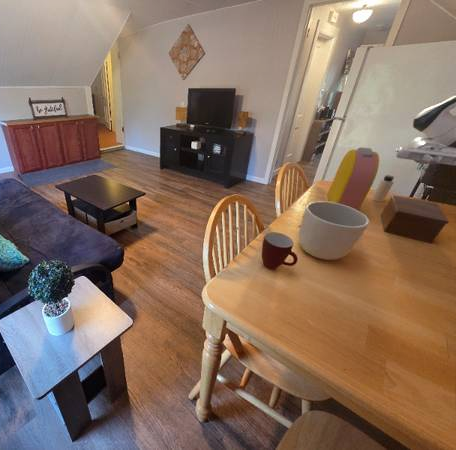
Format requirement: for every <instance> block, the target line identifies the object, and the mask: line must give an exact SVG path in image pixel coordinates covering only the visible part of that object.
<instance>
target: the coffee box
mask: <svg viewBox="0 0 456 450" xmlns="http://www.w3.org/2000/svg"><path fill="white" fill-rule="evenodd" d="M380 219H381V224H382V228H383V232H384V233H387V234H391V235H395V236H399V237H403V238H409V239H411V240H416V241H420V242H423V243H428V244H432V243H433V242H434V240H435V239H436V238H437V237H438V235H439V234H440V233H441V231H442V230H443V229H444V227H445V226H446V224H445V223H441V222H436V221H431V220H427V219H422V218H417V217H413V216H408V215H404V214H399V213H396V210H395V207H394V204H393V201H392V198H391V197H390V198H389V200H388V202H387V204H386V206H385V207H384V209H383V211H382V212H381V214H380Z"/></svg>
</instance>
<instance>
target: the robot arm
mask: <svg viewBox="0 0 456 450" xmlns="http://www.w3.org/2000/svg"><path fill="white" fill-rule="evenodd" d="M455 108H456V94H454V95H452V96H450V97H448V98H447V99H444V100H443V101H441V102H439V103H436V104H434V105H432V106H430V107H428V108H426V109H424V110H422V111H420V112H419V113H418V114H417V115H416V116H415V117H414V119H413V122H412V127H413V128H414V129H415V130H417V131H418V132H420V133H422V134H423V135H424V136H417V137H415V138H413V139H412V140H411V141H410V142H409V143H408V145H407V146H400V147H399V148H395V149H394V151H395V152H396V154H395V157H396V158H397V159H401V160H411V161H414V162H415V163H416V164H420V165H429V164H430V165H431V164H432V165H435V164H437V165H447V166H456V116H455V115H453V113H451V112H450V111H452V110H453V109H455Z"/></svg>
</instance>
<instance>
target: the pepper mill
mask: <svg viewBox="0 0 456 450" xmlns="http://www.w3.org/2000/svg"><path fill="white" fill-rule="evenodd" d="M394 179H395V177H394V176H393V175H389V174H386V175H385V176H384V178H381V179H380V181H379V183H378V184H377V186H376V188H375V190H374V192H373V194H372V195H371V197H370V199H371V200H372V201H375V202H380V203H381V202H382V203H383V202H384V201H385V200H386V197H387V195H388V193H389V192H390V190H391V188H392V187H393V185H394V183H395V181H394Z"/></svg>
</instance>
